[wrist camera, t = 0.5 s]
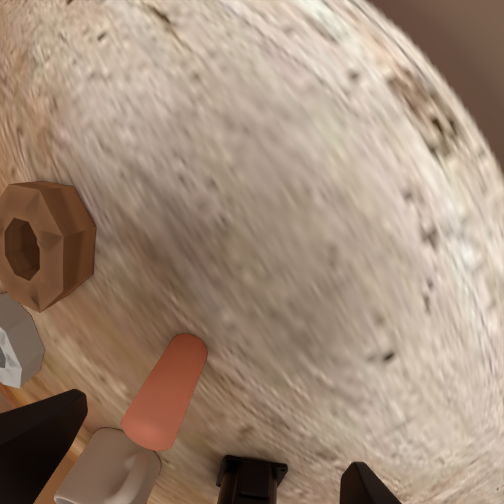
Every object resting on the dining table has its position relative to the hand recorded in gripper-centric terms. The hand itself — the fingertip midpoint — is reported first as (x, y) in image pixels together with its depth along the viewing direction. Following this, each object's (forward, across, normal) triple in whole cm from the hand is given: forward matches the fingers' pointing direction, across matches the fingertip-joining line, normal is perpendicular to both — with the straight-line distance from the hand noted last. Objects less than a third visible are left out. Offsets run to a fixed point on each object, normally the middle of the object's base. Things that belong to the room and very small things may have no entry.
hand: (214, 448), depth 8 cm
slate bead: (+13, +23, +12) cm, 29 cm away
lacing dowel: (+13, +4, +5) cm, 14 cm away
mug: (+14, +8, +21) cm, 27 cm away
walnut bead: (+13, +17, 0) cm, 21 cm away
